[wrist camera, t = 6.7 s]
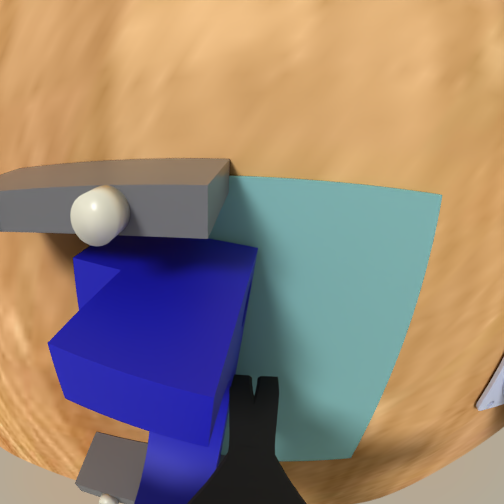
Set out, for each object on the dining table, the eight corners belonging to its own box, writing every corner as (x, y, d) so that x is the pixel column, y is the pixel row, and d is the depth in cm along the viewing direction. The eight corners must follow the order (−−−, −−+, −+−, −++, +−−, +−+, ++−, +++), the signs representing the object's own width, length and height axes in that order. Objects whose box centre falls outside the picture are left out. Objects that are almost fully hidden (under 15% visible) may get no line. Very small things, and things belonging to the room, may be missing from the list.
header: (229, 159, 9) (201, 192, 5) (229, 461, 15) (223, 530, 11) (19, 168, 9) (-72, 203, 5) (100, 440, 16) (78, 498, 11)
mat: (440, 194, 9) (442, 195, 9) (350, 456, 15) (350, 457, 15) (196, 174, 9) (195, 175, 9) (211, 456, 15) (211, 457, 15)
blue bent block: (124, 222, 10) (-5, 317, 5) (258, 247, 10) (214, 397, 4) (141, 432, 15) (102, 519, 9) (220, 454, 15) (197, 550, 9)
